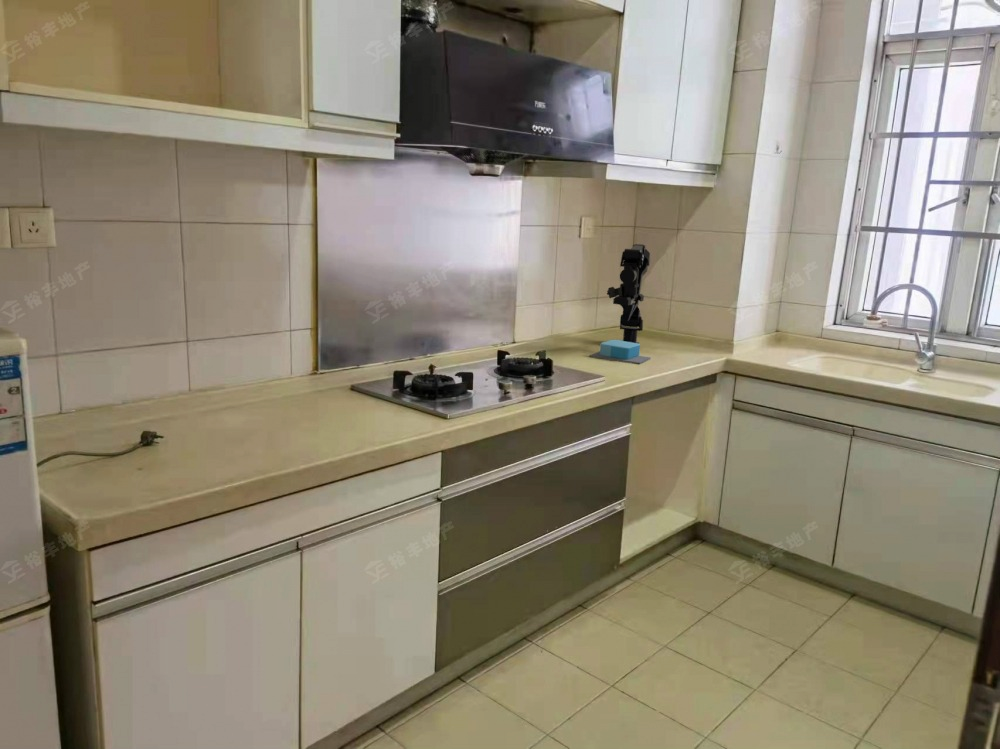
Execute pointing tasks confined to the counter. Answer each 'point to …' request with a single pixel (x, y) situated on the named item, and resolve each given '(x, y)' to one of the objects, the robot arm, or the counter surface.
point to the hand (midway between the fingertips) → (626, 320)
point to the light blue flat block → (619, 349)
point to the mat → (632, 360)
